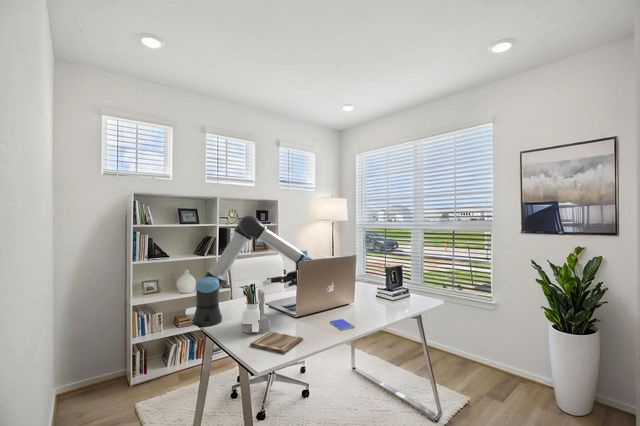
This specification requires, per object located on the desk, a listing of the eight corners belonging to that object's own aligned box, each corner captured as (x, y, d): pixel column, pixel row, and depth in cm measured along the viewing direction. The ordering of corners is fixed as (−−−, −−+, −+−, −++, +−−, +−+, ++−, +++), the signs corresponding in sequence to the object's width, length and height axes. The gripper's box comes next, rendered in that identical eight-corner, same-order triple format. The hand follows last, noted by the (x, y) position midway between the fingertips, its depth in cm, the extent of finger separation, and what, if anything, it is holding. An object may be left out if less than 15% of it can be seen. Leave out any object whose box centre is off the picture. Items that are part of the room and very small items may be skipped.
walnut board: (250, 346, 137) (250, 342, 137) (270, 333, 151) (270, 331, 151) (284, 354, 129) (284, 350, 129) (302, 340, 144) (302, 337, 144)
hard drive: (354, 325, 160) (342, 318, 171) (341, 328, 157) (329, 320, 168) (354, 328, 160) (342, 321, 171) (341, 331, 157) (329, 323, 168)
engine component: (253, 334, 151) (273, 331, 154) (253, 292, 151) (273, 290, 155) (249, 326, 161) (268, 324, 164) (250, 287, 161) (268, 286, 165)
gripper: (312, 285, 181) (293, 294, 162) (276, 281, 192) (255, 289, 173) (312, 272, 181) (293, 279, 162) (276, 269, 192) (255, 276, 173)
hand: (274, 284), depth 167 cm, fingers open, 13 cm apart
